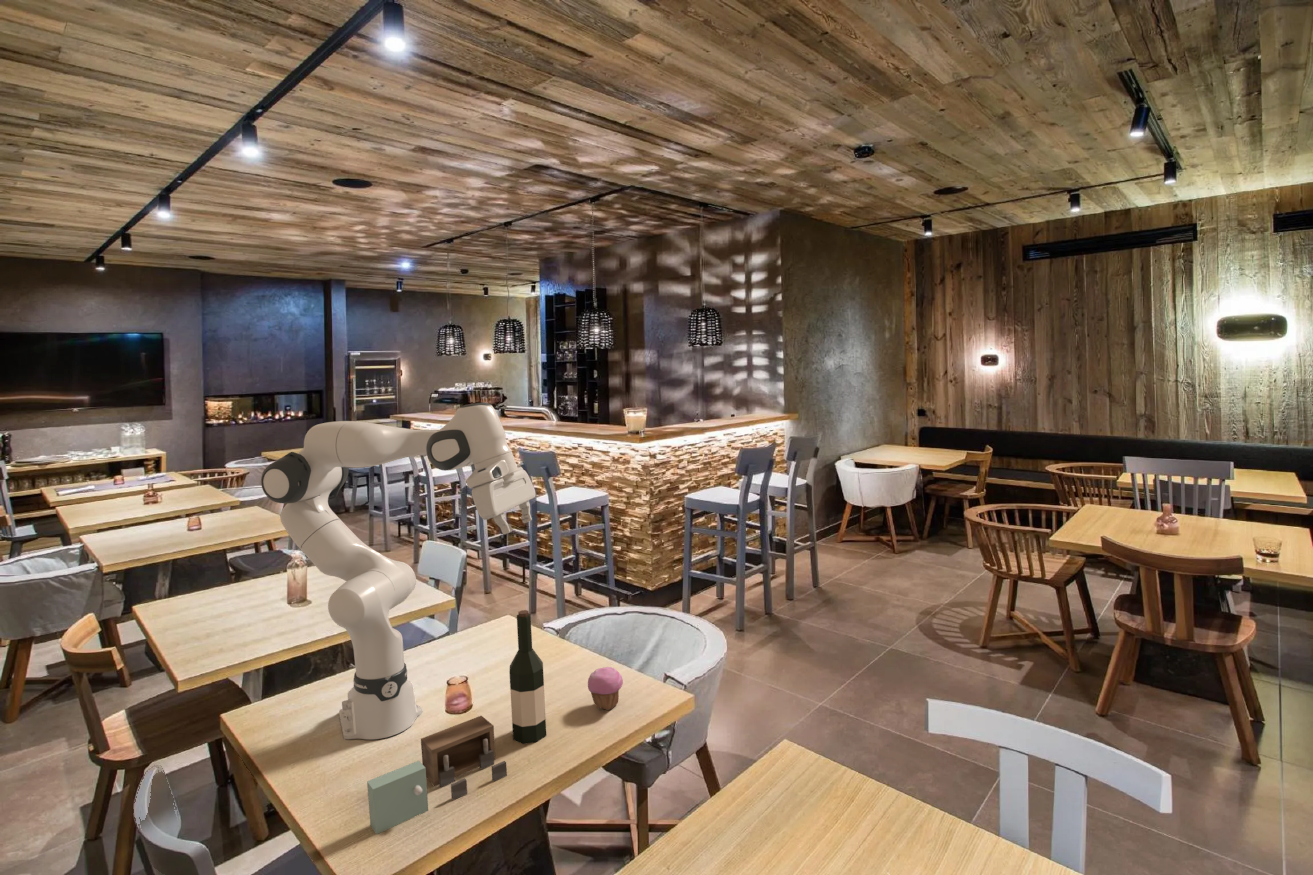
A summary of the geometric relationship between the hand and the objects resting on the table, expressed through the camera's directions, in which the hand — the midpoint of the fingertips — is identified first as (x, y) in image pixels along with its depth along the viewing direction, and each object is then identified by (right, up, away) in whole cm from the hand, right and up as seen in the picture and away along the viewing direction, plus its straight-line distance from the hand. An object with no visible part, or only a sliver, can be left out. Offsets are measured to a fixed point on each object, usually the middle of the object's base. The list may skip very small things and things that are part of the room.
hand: (518, 527), depth 153 cm
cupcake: (+19, -49, +19) cm, 55 cm away
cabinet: (-9, -52, -8) cm, 53 cm away
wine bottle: (+1, -50, +7) cm, 51 cm away
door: (-18, -54, -22) cm, 61 cm away
